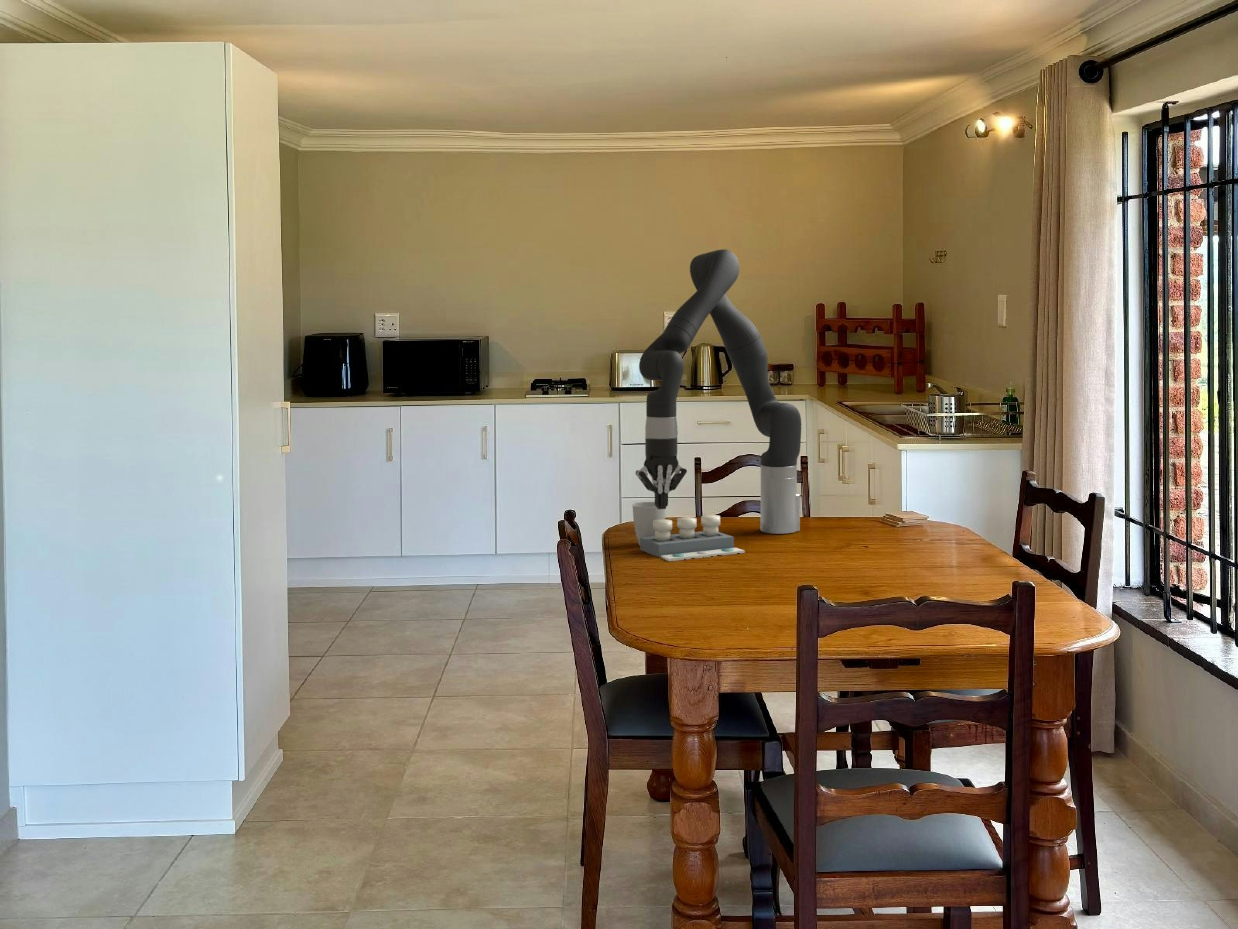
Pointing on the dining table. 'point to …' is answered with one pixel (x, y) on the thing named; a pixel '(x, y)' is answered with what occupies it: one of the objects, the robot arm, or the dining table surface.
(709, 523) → the button
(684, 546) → the board
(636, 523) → the cup
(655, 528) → the button
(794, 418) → the robot arm
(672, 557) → the strip
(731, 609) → the dining table surface
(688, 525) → the button
